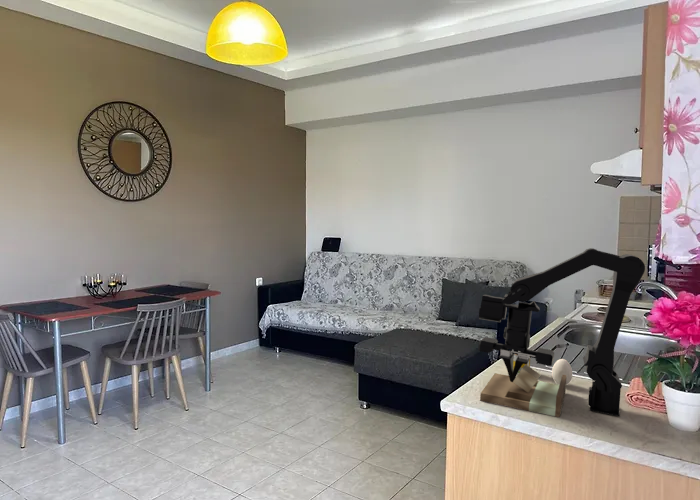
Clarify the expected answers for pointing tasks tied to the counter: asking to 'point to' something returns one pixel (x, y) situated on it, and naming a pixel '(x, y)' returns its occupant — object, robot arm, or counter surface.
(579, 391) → the counter surface
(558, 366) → the egg
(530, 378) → the birch block
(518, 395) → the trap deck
